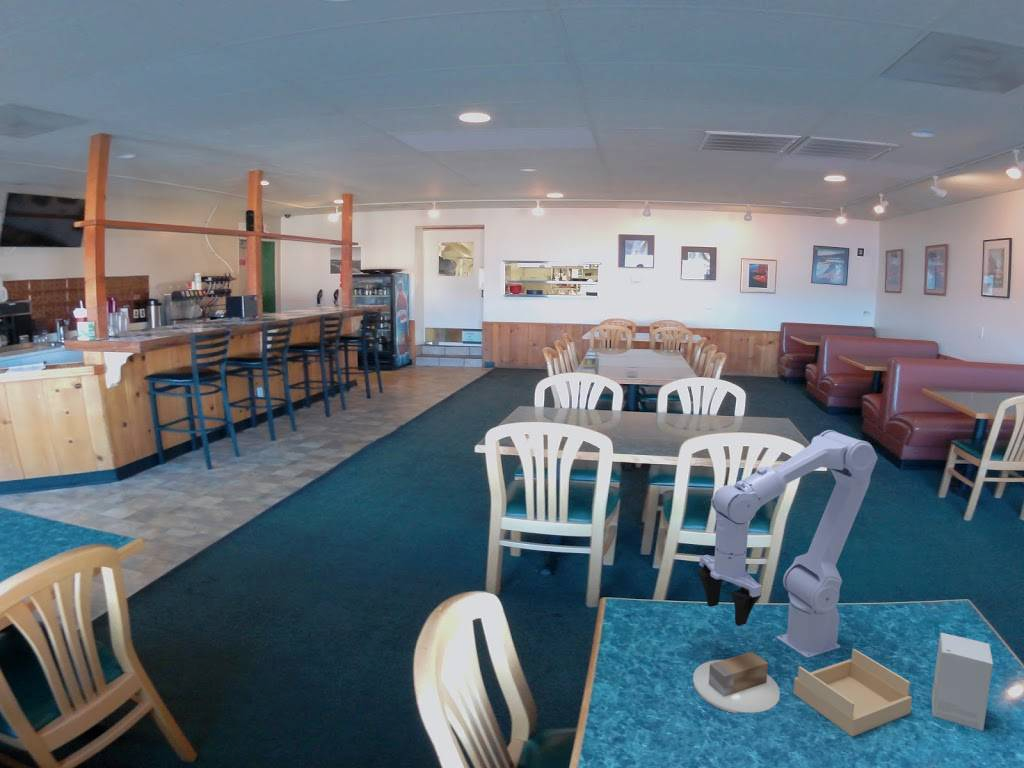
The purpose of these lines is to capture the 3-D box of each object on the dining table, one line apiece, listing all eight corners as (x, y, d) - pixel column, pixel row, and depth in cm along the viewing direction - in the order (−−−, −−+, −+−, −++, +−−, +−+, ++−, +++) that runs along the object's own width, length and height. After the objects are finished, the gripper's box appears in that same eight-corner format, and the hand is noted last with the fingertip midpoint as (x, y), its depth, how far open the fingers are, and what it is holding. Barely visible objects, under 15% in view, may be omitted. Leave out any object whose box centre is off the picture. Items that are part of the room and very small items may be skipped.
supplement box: (984, 734, 109) (994, 664, 107) (931, 718, 113) (940, 650, 111) (981, 709, 116) (990, 643, 113) (931, 694, 119) (939, 630, 117)
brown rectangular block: (750, 670, 125) (751, 651, 124) (766, 682, 121) (768, 662, 121) (708, 684, 121) (709, 664, 120) (723, 696, 117) (725, 676, 117)
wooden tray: (848, 675, 125) (851, 646, 124) (910, 715, 114) (913, 684, 113) (792, 695, 119) (795, 665, 118) (851, 739, 108) (855, 706, 107)
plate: (737, 656, 131) (738, 652, 131) (798, 701, 117) (798, 697, 117) (676, 674, 125) (676, 671, 125) (732, 724, 111) (733, 720, 111)
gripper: (688, 538, 131) (685, 601, 133) (742, 568, 118) (738, 638, 120) (716, 532, 134) (712, 594, 136) (772, 561, 121) (766, 629, 123)
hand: (726, 614), depth 129 cm, fingers open, 7 cm apart
